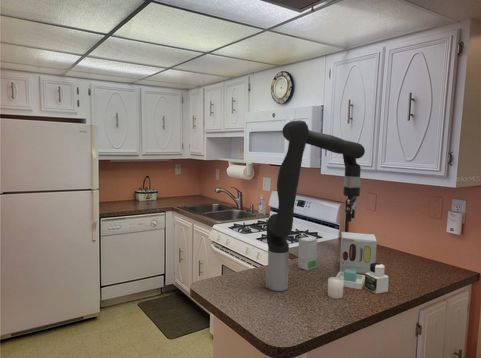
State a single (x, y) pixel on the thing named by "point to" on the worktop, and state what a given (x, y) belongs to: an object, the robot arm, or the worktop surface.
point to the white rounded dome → (335, 287)
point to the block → (350, 275)
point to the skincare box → (307, 253)
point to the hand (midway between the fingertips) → (350, 219)
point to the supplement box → (357, 251)
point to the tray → (357, 285)
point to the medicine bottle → (376, 279)
